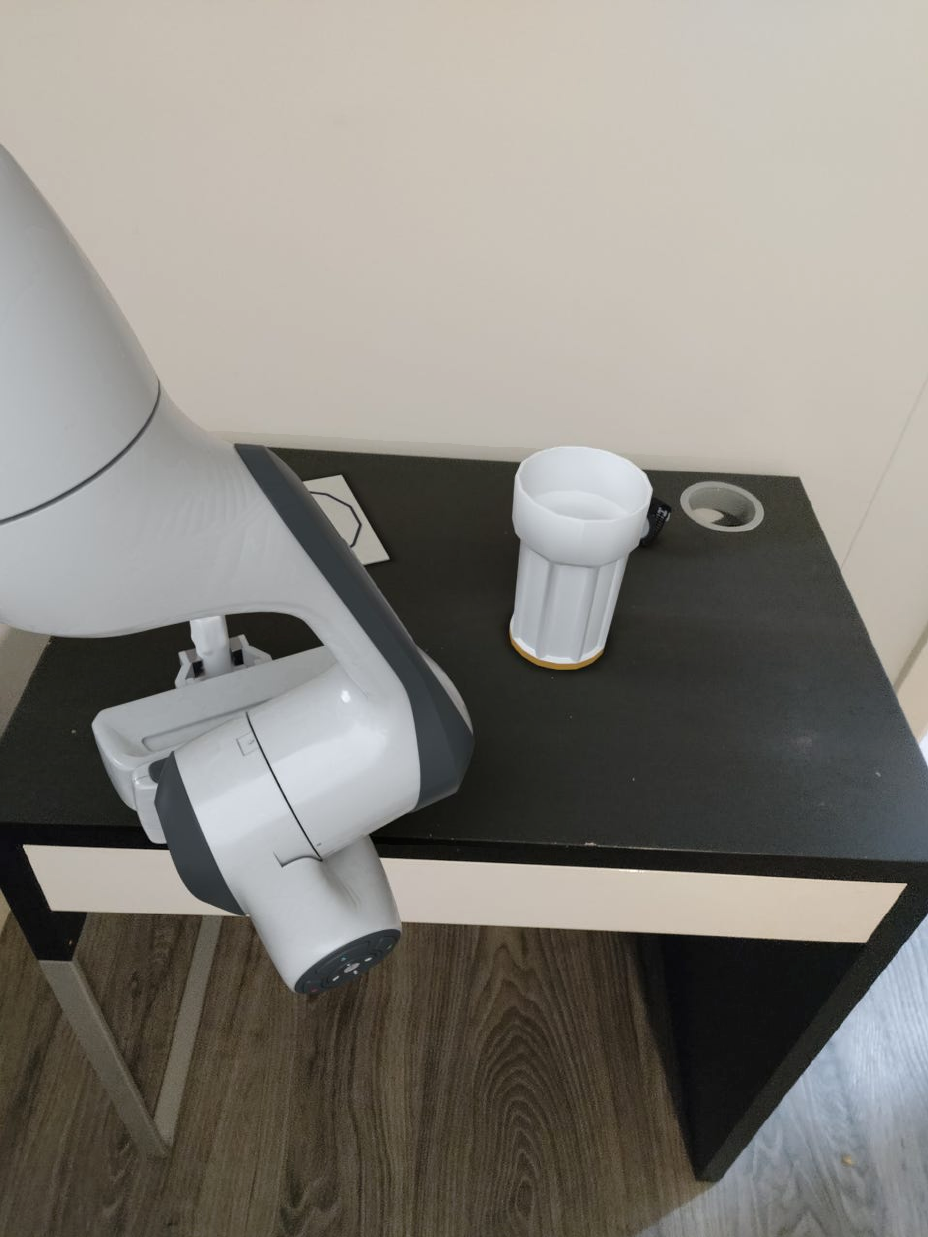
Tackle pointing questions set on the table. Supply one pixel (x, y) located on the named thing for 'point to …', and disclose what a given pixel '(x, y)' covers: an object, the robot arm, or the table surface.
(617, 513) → the cup
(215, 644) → the candle
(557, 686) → the table surface
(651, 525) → the smartwatch
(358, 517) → the sketch sheet
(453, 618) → the table surface
